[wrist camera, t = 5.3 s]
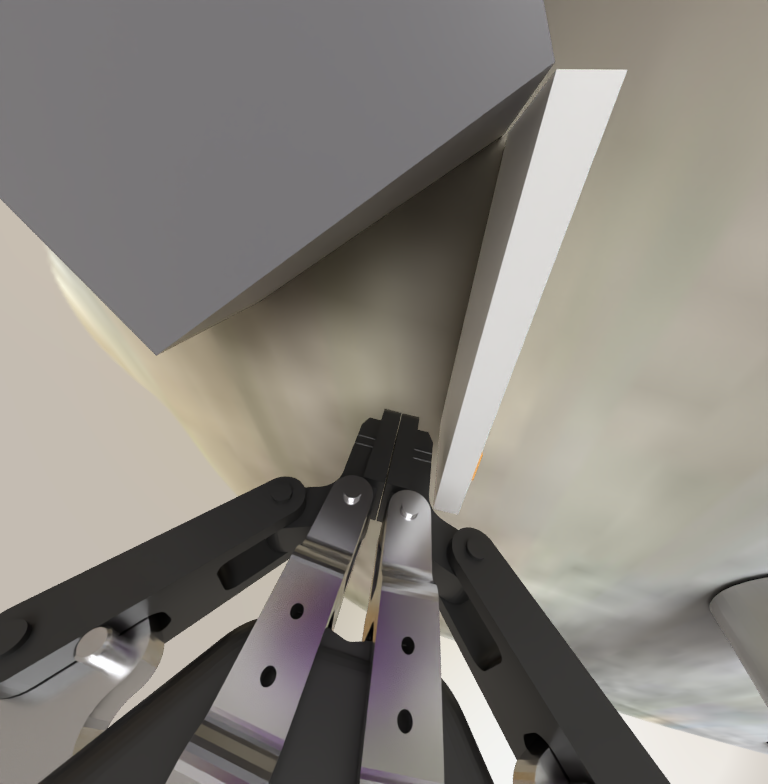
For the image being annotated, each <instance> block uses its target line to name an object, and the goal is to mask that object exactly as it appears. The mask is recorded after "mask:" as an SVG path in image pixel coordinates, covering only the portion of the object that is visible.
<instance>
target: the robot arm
mask: <svg viewBox="0 0 768 784" xmlns="http://www.w3.org/2000/svg"><path fill="white" fill-rule="evenodd" d="M400 417H401V413H399V412H395V411H391V410H387V409H385V410H384V413H383V416H382V420H377V419H373V418H369V419H368V420H367V421H365V422H364V423H363V424H362V426H361V428H360V431H359V433H358V436H357V438H356V441H355V444H354V446H353V449H352V451H351V454H350V456H349V459H348V461H347V464H346V466H345V469H344V471H343V474H342V475H341V477H340V478H339V479H338V480H337V481H335V482H334V483H332V484H330V485H327V486H323V487H304V486H303V484H302V483H301V482H300V481H299V480H297V479H295V478H292V477H279V478H276V479H273V480H271V481H269V482H267V483H265V484H263V485H261V486H259V487H257V488H255V489H253V490H251V491H249V492H247V493H245V494H243V495H241V496H238V497H236V498H235V499H232V500H231V501H228V502H226V503H224V504H222V505H220V506H218V507H216V508H214V509H212V510H210V511H208V512H206V513H204V514H202V515H200V516H198V517H196V518H194V519H191V520H189V521H187V522H185V523H183V524H181V525H179V526H177V527H175V528H173V529H171V530H169V531H167V532H165V533H163V534H161V535H159V536H156V537H154V538H152V539H150V540H148V541H146V542H144V543H142V544H140V545H138V546H136V547H134V548H132V549H130V550H128V551H126V552H124V553H122V554H120V555H118V556H115V557H113V558H111V559H109V560H107V561H105V562H103V563H101V564H99V565H97V566H95V567H93V568H91V569H89V570H87V571H85V572H83V573H81V574H79V575H77V576H74V577H73V578H70V579H69V580H67V581H64V582H63V583H60V584H58V585H56V586H54V587H52V588H50V589H48V590H46V591H44V592H42V593H40V594H38V595H36V596H34V597H31V598H30V599H28V600H26V601H23V602H21V603H19V604H17V605H15V606H13V607H11V608H9V609H7V610H6V611H4V612H2V613H1V614H0V784H494V783H493V780H492V778H491V776H490V774H489V771H488V770H487V767H486V764H485V762H484V760H483V757H482V755H481V753H480V751H479V748H478V746H477V744H476V741H475V739H474V737H473V735H472V732H471V730H470V728H469V725H468V723H467V721H466V719H465V716H464V714H463V712H462V710H461V708H460V706H459V704H458V702H457V700H456V698H455V697H454V695H453V693H452V692H451V690H450V689H449V687H448V686H447V685H446V683H445V682H444V681H443V679H442V678H441V657H440V624H439V610H440V612H441V614H442V616H443V618H444V620H445V622H446V624H447V626H448V627H449V629H450V631H451V633H452V635H453V637H454V639H455V641H456V643H457V645H458V647H459V649H460V651H461V652H462V655H463V657H464V658H465V660H466V662H467V664H468V666H469V668H470V670H471V672H472V674H473V676H474V678H475V680H476V682H477V684H478V686H479V687H480V689H481V691H482V693H483V695H484V697H485V699H486V701H487V703H488V705H489V707H490V709H491V711H492V713H493V715H494V716H495V718H496V720H497V722H498V724H499V726H500V728H501V730H502V732H503V734H504V736H505V738H506V740H507V742H508V743H509V746H510V748H511V749H512V751H513V753H514V755H515V757H516V759H517V762H516V765H515V769H514V774H513V784H670V782H669V781H668V780H667V778H666V777H665V776H664V774H663V773H662V771H661V770H660V769H659V768H658V766H657V765H656V763H655V762H654V761H653V759H652V758H651V757H650V755H649V754H648V752H647V751H646V750H645V749H644V747H643V746H642V745H641V743H640V742H639V740H638V739H637V738H636V736H635V735H634V734H633V732H632V731H631V729H630V728H629V727H628V725H627V724H626V723H625V721H624V720H623V719H622V717H621V716H620V715H619V713H618V712H617V710H616V709H615V708H614V706H613V705H612V704H611V702H610V701H609V700H608V698H607V697H606V696H605V694H604V693H603V691H602V690H601V689H600V687H599V686H598V685H597V683H596V682H595V681H594V679H593V678H592V677H591V675H590V674H589V673H588V671H587V670H586V668H585V667H584V666H583V664H582V663H581V662H580V660H579V659H578V658H577V656H576V655H575V654H574V652H573V651H572V649H571V648H570V647H569V645H568V644H567V643H566V641H565V640H564V639H563V637H562V636H561V635H560V633H559V632H558V631H557V629H556V628H555V626H554V625H553V624H552V622H551V621H550V620H549V618H548V617H547V616H546V614H545V613H544V612H543V610H542V609H541V607H540V606H539V605H538V603H537V602H536V601H535V599H534V598H533V597H532V595H531V594H530V593H529V591H528V590H527V589H526V587H525V586H524V584H523V583H522V582H521V580H520V579H519V578H518V576H517V575H516V574H515V572H514V571H513V570H512V568H511V567H510V565H509V564H508V563H507V561H506V560H505V559H504V557H503V556H502V555H501V553H500V552H499V551H498V549H497V548H496V547H495V545H494V544H493V542H492V541H491V540H490V539H489V538H488V537H487V536H486V535H485V534H484V533H482V532H481V531H479V530H477V529H474V528H462V529H460V530H457V529H456V528H454V527H453V526H451V525H449V524H448V523H446V522H445V521H443V520H442V519H441V518H439V517H438V516H437V515H436V513H435V512H434V511H433V509H432V507H431V505H430V502H429V486H430V473H431V460H432V447H433V442H432V440H431V437H430V435H429V433H428V432H424V431H421V430H418V423H419V417H415V416H411V415H407V414H402V417H401V421H400ZM399 421H400V425H399ZM398 425H399V429H398ZM397 429H398V432H397ZM396 434H397V436H396ZM395 438H396V440H395ZM394 442H395V444H394ZM393 447H394V448H393ZM392 451H393V452H392ZM391 455H392V457H391ZM390 459H391V461H390ZM389 464H390V465H389ZM388 468H389V470H388ZM387 472H388V474H387ZM386 477H387V478H386ZM385 481H386V483H385ZM384 485H385V487H384ZM383 489H384V491H383ZM382 492H383V496H382ZM381 496H382V500H381ZM380 500H381V504H380ZM379 504H380V509H379V513H378V517H377V521H380V522H382V525H381V530H380V535H379V538H378V542H377V547H376V554H375V561H374V568H373V575H372V583H371V590H370V597H369V603H368V609H367V614H366V619H365V624H364V632H363V638H362V642H349V641H346V640H344V639H343V638H342V637H340V636H339V635H337V634H336V633H334V632H333V629H334V627H335V624H336V621H337V618H338V614H339V611H340V608H341V604H342V601H343V598H344V595H345V592H346V589H347V586H348V583H349V580H350V577H351V574H352V571H353V568H354V565H355V562H356V559H357V556H358V553H359V550H360V547H361V544H362V541H363V539H364V538H365V536H366V533H367V529H368V525H369V521H370V519H372V520H375V519H376V515H377V511H378V508H379ZM288 559H289V561H288V563H287V564H286V566H285V568H284V570H283V572H282V574H281V576H280V578H279V580H278V581H277V583H276V585H275V587H274V589H273V591H272V593H271V595H270V597H269V599H268V601H267V602H266V604H265V606H264V608H263V610H262V612H261V614H260V616H259V618H258V619H255V620H252V621H250V622H247V623H245V624H243V625H241V626H239V627H237V628H236V629H234V630H233V631H231V632H229V633H228V634H227V635H225V636H224V637H223V638H221V639H220V640H219V641H218V642H216V643H215V644H214V645H213V646H211V647H210V648H209V649H207V650H206V651H205V652H204V653H202V654H201V655H200V656H199V657H198V658H196V659H195V660H194V661H192V662H191V663H190V664H189V665H187V666H186V667H185V668H183V669H182V670H181V671H180V672H178V673H177V674H176V675H175V676H173V677H172V678H171V679H170V680H168V681H167V682H166V683H165V684H163V685H162V686H161V687H159V688H158V689H157V690H156V691H154V692H153V693H152V694H151V695H149V696H148V697H147V698H146V699H144V700H143V701H142V702H140V703H139V704H138V705H137V706H135V707H134V708H133V709H132V710H130V711H129V712H128V713H127V714H125V715H124V716H123V717H122V718H120V719H119V720H118V721H116V722H115V723H114V724H113V725H112V726H110V727H109V728H108V726H109V725H110V723H111V721H112V719H113V718H114V716H115V715H116V713H117V712H118V711H119V710H120V708H121V707H122V706H123V705H124V703H126V701H127V700H128V699H129V698H131V697H132V696H133V695H134V694H135V693H136V692H137V691H138V690H140V689H141V688H142V687H143V686H144V685H145V684H146V682H147V681H148V680H149V679H150V678H151V676H152V675H153V673H154V672H155V670H156V669H157V667H158V665H159V663H160V660H161V658H162V655H163V650H164V644H165V643H166V642H168V641H169V640H170V639H172V638H173V637H175V636H176V635H178V634H179V633H181V632H182V631H184V630H185V629H187V628H188V627H190V626H191V625H193V624H194V623H196V622H197V621H198V620H200V619H201V618H203V617H204V616H206V615H207V614H209V613H210V612H212V611H213V610H215V609H216V608H217V607H219V606H220V605H222V604H223V603H225V602H226V601H227V600H229V599H231V598H232V597H234V596H235V595H237V594H238V593H240V592H241V591H243V590H244V589H245V588H247V587H248V586H250V585H251V584H253V583H254V582H256V581H257V580H259V579H260V578H262V577H263V576H264V575H266V574H267V573H269V572H270V571H272V570H273V569H275V568H276V567H278V566H279V565H281V564H282V563H284V562H285V561H286V560H288ZM710 612H711V613H712V615H713V617H714V618H715V620H716V622H717V623H718V625H719V627H720V628H721V630H722V632H723V633H724V635H725V637H726V638H727V640H728V642H729V643H730V645H731V646H732V648H733V650H734V651H735V653H736V655H737V656H738V658H739V660H740V661H741V663H742V665H743V666H744V668H745V670H746V671H747V673H748V675H749V676H750V678H751V680H752V681H753V683H754V685H755V686H756V689H757V690H758V692H759V694H760V695H761V697H762V699H763V700H764V702H765V704H766V705H767V707H768V577H767V578H762V579H757V580H752V581H748V582H745V583H741V584H738V585H735V586H732V587H730V588H728V589H726V590H724V591H722V592H720V593H719V594H718V595H716V596H715V597H714V598H713V599H712V601H711V603H710Z"/></svg>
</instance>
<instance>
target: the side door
mask: <svg viewBox="0 0 768 784" xmlns="http://www.w3.org/2000/svg"><path fill="white" fill-rule="evenodd" d="M626 73H627V70H602V69H556V71H555V72H554V73H553V75H552V76H551V77H550V79H549V80H548V81H547V83H546V84H545V85H544V86H543V88H542V89H541V90H540V92H539V93H538V94H537V96H536V97H535V98H534V100H533V101H532V102H531V104H530V105H529V106H528V107H527V109H526V110H525V111H524V113H523V114H522V115H521V117H520V118H519V119H518V121H517V122H516V123H515V124H514V126H513V127H512V128H511V130H510V131H509V132H508V135H507V140H506V144H505V148H504V152H503V157H502V161H501V165H500V170H499V174H498V178H497V182H496V187H495V191H494V195H493V200H492V204H491V208H490V212H489V217H488V221H487V225H486V230H485V234H484V238H483V242H482V247H481V251H480V255H479V259H478V264H477V268H476V272H475V277H474V281H473V285H472V289H471V294H470V298H469V302H468V307H467V311H466V315H465V319H464V324H463V328H462V332H461V337H460V341H459V345H458V349H457V354H456V358H455V362H454V367H453V371H452V375H451V379H450V384H449V388H448V392H447V396H446V401H445V405H444V409H443V414H442V418H441V422H440V433H439V445H438V457H437V469H436V481H435V493H434V504H433V509H435V510H440V511H444V512H448V513H453V514H457V515H458V514H459V511H460V509H461V506H462V503H463V501H464V498H465V495H466V493H467V490H468V488H469V485H470V482H471V480H473V479H474V477H475V474H476V471H477V469H478V466H479V464H480V461H481V458H482V456H483V455H482V451H483V448H484V446H485V443H486V440H487V438H488V435H489V432H490V430H491V427H492V425H493V422H494V419H495V417H496V414H497V411H498V409H499V406H500V404H501V401H502V398H503V396H504V393H505V390H506V388H507V385H508V383H509V380H510V377H511V375H512V372H513V369H514V367H515V364H516V361H517V359H518V356H519V354H520V351H521V348H522V346H523V343H524V340H525V338H526V335H527V333H528V330H529V327H530V325H531V322H532V319H533V317H534V314H535V312H536V309H537V306H538V304H539V301H540V298H541V296H542V293H543V291H544V288H545V285H546V283H547V280H548V277H549V275H550V272H551V270H552V267H553V264H554V262H555V259H556V256H557V254H558V251H559V249H560V246H561V243H562V241H563V238H564V235H565V233H566V230H567V228H568V225H569V222H570V220H571V217H572V214H573V212H574V209H575V207H576V204H577V201H578V199H579V196H580V193H581V191H582V188H583V185H584V183H585V180H586V178H587V175H588V172H589V170H590V167H591V164H592V162H593V159H594V157H595V154H596V151H597V149H598V146H599V143H600V141H601V138H602V136H603V133H604V130H605V128H606V125H607V122H608V120H609V117H610V115H611V112H612V109H613V107H614V104H615V101H616V99H617V96H618V94H619V91H620V88H621V86H622V83H623V80H624V78H625V75H626Z"/></svg>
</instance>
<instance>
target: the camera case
mask: <svg viewBox="0 0 768 784" xmlns="http://www.w3.org/2000/svg"><path fill="white" fill-rule="evenodd" d="M554 63H555V59H554V53H553V48H552V43H551V38H550V32H549V27H548V22H547V17H546V11H545V6H544V1H543V0H0V199H1V200H2V201H3V202H4V203H5V204H6V205H7V206H8V207H9V208H10V209H11V210H12V211H13V212H14V213H15V214H16V215H17V216H18V217H19V218H20V219H21V220H22V221H23V222H24V223H25V224H26V225H27V226H28V227H29V228H30V229H31V230H32V231H33V232H34V233H35V234H36V235H37V236H38V237H39V238H40V239H41V240H42V241H43V242H44V243H45V244H46V245H47V246H48V247H49V248H50V249H51V250H52V251H53V252H54V253H55V254H56V255H57V256H58V257H59V258H60V259H61V260H62V261H63V262H64V263H65V264H66V265H67V266H68V267H69V268H70V269H71V270H72V271H73V272H74V273H75V274H76V275H77V276H78V277H79V278H80V279H81V280H82V281H83V282H84V283H85V284H86V285H87V286H88V287H89V288H90V289H91V290H92V291H93V292H94V293H95V294H96V295H97V296H98V297H99V299H100V300H101V301H102V302H103V303H104V304H105V305H106V306H107V307H108V308H109V309H110V310H111V311H112V312H113V313H114V314H115V315H116V316H117V317H118V318H119V319H120V320H121V321H122V322H123V323H124V324H125V325H126V326H127V327H128V328H129V329H130V330H131V331H132V332H133V333H134V334H135V335H136V336H137V337H138V338H139V339H140V340H141V341H142V342H143V343H144V344H145V345H146V346H147V347H148V348H149V349H150V350H151V351H152V352H153V353H154V354H155V355H156V356H157V355H158V354H160V353H162V352H164V351H166V350H168V349H170V348H172V347H174V346H176V345H178V344H179V343H181V342H183V341H185V340H187V339H189V338H191V337H193V336H195V335H197V334H199V333H200V332H202V331H204V330H206V329H208V328H210V327H212V326H214V325H216V324H218V323H219V322H221V321H223V320H225V319H227V318H229V317H231V316H233V315H235V314H237V313H239V312H240V311H242V310H244V309H246V308H248V307H250V306H252V305H254V304H256V303H258V302H259V301H261V300H262V299H264V298H265V297H267V296H268V295H270V294H271V293H273V292H274V291H275V290H277V289H278V288H280V287H281V286H283V285H284V284H286V283H287V282H289V281H290V280H292V279H293V278H294V277H296V276H297V275H299V274H300V273H302V272H303V271H305V270H306V269H308V268H309V267H311V266H312V265H313V264H315V263H316V262H318V261H319V260H321V259H322V258H324V257H325V256H327V255H328V254H330V253H331V252H332V251H334V250H335V249H337V248H338V247H340V246H341V245H343V244H344V243H346V242H347V241H349V240H350V239H352V238H353V237H354V236H356V235H357V234H359V233H360V232H362V231H363V230H365V229H366V228H368V227H369V226H371V225H372V224H373V223H375V222H376V221H378V220H379V219H381V218H382V217H384V216H385V215H387V214H388V213H390V212H391V211H392V210H394V209H395V208H397V207H398V206H400V205H401V204H403V203H404V202H406V201H407V200H409V199H410V198H411V197H413V196H414V195H416V194H417V193H419V192H420V191H422V190H423V189H425V188H426V187H428V186H429V185H430V184H432V183H433V182H435V181H436V180H438V179H439V178H441V177H442V176H444V175H445V174H447V173H448V172H449V171H451V170H452V169H454V168H455V167H457V166H458V165H460V164H461V163H463V162H464V161H466V160H467V159H468V158H470V157H471V156H473V155H474V154H476V153H477V152H479V151H480V150H482V149H483V148H485V147H486V146H487V145H489V144H490V143H492V142H493V141H495V140H496V139H498V138H499V137H501V136H502V135H504V133H505V132H506V130H507V129H508V127H509V126H510V125H511V123H512V122H513V120H514V119H515V118H516V116H517V115H518V113H519V112H520V111H521V109H522V108H523V106H524V105H525V103H526V102H527V101H528V99H529V98H530V96H531V95H532V94H533V92H534V91H535V89H536V88H537V87H538V85H539V84H540V82H541V81H542V79H543V78H544V77H545V75H546V74H547V72H548V71H549V70H550V68H551V67H552V65H553V64H554Z"/></svg>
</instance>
